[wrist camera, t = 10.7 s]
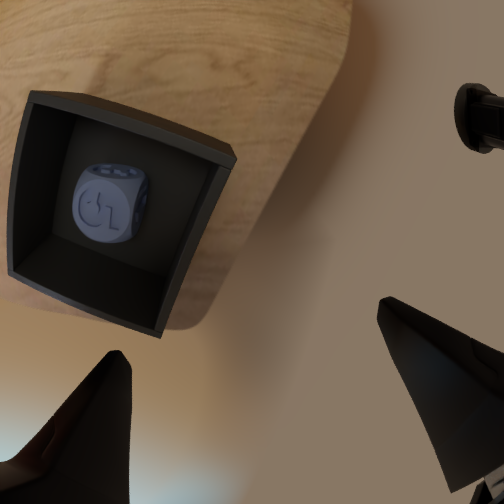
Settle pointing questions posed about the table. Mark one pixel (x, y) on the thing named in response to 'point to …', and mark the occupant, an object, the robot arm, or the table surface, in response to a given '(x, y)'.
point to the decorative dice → (110, 202)
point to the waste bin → (154, 218)
